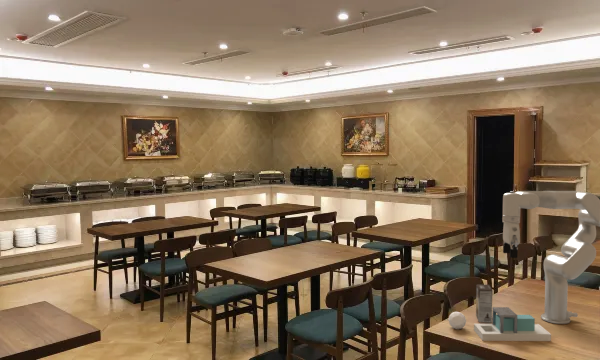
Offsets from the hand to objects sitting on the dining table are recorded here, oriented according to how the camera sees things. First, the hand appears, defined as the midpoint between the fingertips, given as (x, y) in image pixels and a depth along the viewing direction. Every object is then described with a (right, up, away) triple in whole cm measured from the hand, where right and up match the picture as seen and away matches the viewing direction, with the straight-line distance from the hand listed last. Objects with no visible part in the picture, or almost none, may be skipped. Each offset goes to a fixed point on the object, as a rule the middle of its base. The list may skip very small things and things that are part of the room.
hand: (510, 255), depth 227 cm
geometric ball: (-26, -34, -3) cm, 43 cm away
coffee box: (-9, -33, +8) cm, 35 cm away
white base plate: (-5, -34, -12) cm, 36 cm away
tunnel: (-8, -31, -13) cm, 34 cm away
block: (-3, -31, -13) cm, 33 cm away
